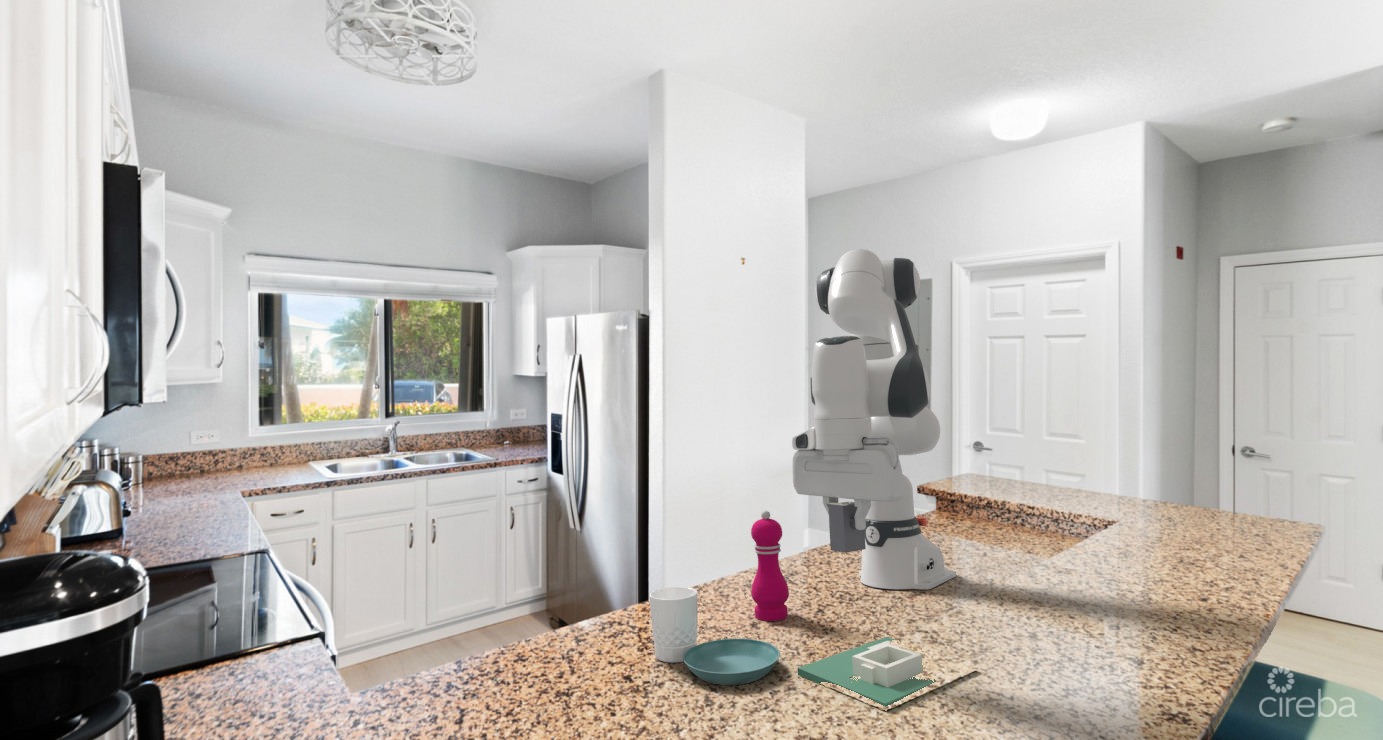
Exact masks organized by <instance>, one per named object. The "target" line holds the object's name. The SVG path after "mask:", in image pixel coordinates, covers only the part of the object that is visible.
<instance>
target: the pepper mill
mask: <svg viewBox="0 0 1383 740" xmlns="http://www.w3.org/2000/svg"><path fill="white" fill-rule="evenodd" d="M760 516H761V518H760V519H757V520H756V521H754V523H753V524H752V526H751V529H750V534H751V538H752V539H753V541H754V542H755V544H754V546H753V547H754V552H755V553H756V556H757V571H756V573H755V576H754V579H753V582H752V585H751V591H750V592H751V593H750V594H751V595H750V596H751V598H752V600H753V601H754V602H755V604H756V605H755V606H754V617H755V618H756V619H757V620H760V621H765V622H777V621H782V620H786V619H787V617H789V616H788V615H789V614H788V613H789V611H788V606H787V605H786V604H785V603H787V601H788V599H789V597H790V590H789V585H788V583H787V580H786V579H785V577H784V575H783V572H782V571H781V567H780V562H779V557H780V556H779V554H780V552H782V551H781V544H780V540H781V539H782V537H783V528H782V526H781V524H780V523H779V522H778V521H777V520H775V519H773V518H771V513H770V511H768V510H763V511H761V513H760Z"/></svg>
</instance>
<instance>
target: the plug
mask: <svg viewBox="0 0 1383 740" xmlns="http://www.w3.org/2000/svg"><path fill="white" fill-rule="evenodd" d="M828 507H829V515H828V517H829V518H828V525H829V542H830V545H829V548H830V551H833V552H839V553H844V554H846V553H851V552H857V551H862V550H864V549H866V547H865V529H863V530H856V529H852V528H851V522H850V518H851V517H854V516H855V514H856V511H857V508H858V507H855V504H854V501H843V502H838V503H829V504H828Z"/></svg>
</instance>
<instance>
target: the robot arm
mask: <svg viewBox="0 0 1383 740" xmlns="http://www.w3.org/2000/svg"><path fill="white" fill-rule="evenodd" d="M920 289H921V277H920V273H919V271H918V269H917V267H916V266H915V262H913V261H912V260H911V259H910V258H904V257H894V258H893V259H880V257H879V256H878V255H877V254H876V253H874V252H873V251H871V250H869V249H864V248H855V249H851V250H849V251H847V252H845V253H844V254H843V255H842V256H840V257H839V259H838V261H837V263H836V265H835V267H834V266H833V267H830V268H828V269H825V270H823V271H822V272H821V273H820V274H819V275H818V276H817V278H816V283H815V289H814V294H815V298H816V302H817V304H818V306H819V309H820V310H821V311H822V312H823V313H825V314H826V315H829V316H830V318H831V319H832V321H833V322H834V323H835V325H836V326H838V327H839V328H840V329H841V330H843V331H844V332H847V333H849V334H850V335H843V336H833V337H824V338H821V339H819V340H817V341H816V342H815V343H814V345H813V351H812V352H813V353H812V360H811V361H812V363H811V364H812V365H811V377H810V398H811V403H812V404H813V405H814V406H815V407H814V413H813V426H812V427H810V428H808V429H806V430H805V431H803V432H800V433H798V434H796V435H794V436H793V437H792V439H791V447H792V449H794V450H795V452H794V454H793V457H792V483H793V487H794V491H795V492H796V493H797V494H798V495H805V496H815V497H822V504H823V507H824V509H825V510H826V513H827V514H828V516H829V507H828V504H829V503H839V499H846V500H847V499H849V500H854V501H853V502H854V504H855V507H858V508H857V511H856V514H855V516H854V517H851V518H850V522H851V528H852V529H856V530H863V529H865V547H866V549H864V550H861V563H860V564H861V566H860V567H861V569H860V570H858V576H859V575H860V576H861V577H860V576H859V577H860V578H859V581H860V583H862V584H863V585H866V586H869V587H872V588H878V589H886V590H931V589H933V588H935V587H937V586H939V585H942V584H943V583H945V582H948V581H949V580H951V579H953V578H955V577H957V573H956V571H955V570H954V569H950V568H947V567H945V562H944V561H945V560H944V555H943V552H942V550H941V548H940V547H939V546H937V544H935V543H933V542H932V541H931V540H930V539H928V538H927V537H926V536H925V535H924V534H923V533H922V529H921V527H927V526H928V524H929V520H928V519H927V517H925V516H923V517H921V516H917V517H916V516H915V504H914V503H915V502H914V489H913V484H912V482H911V480H910V479H909V478H908V477H907V475H905V474H903V470H902V466H901V460H900V457H899V456H913V455H918V454H923V453H924V454H925V453H927V452H931V451H932V450H933V449H935V447H936V446H937V445H938V442H939V440H940V437H941V425H940V422H939V419H938V417H937V416H936V414H935V413H934V412H933V411H932V410H931V409H930V408H929V407H927V406H928V405H929V401H930V398H931V386H930V385H931V383H930V379H929V376H928V374H927V373H928V372H927V370H926V369H925V367H924V365H923V362H922V360H921V357H920V354H919V351H918V349H917V344H916V341H915V338H914V334H913V331H912V327H911V324H910V321H909V318H908V315H907V313H906V310H905V309H907V308H909V307H910V306H911V305H913V303H914V302H915V301H916V300H917V298H918V293H919V292H920Z"/></svg>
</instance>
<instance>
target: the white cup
mask: <svg viewBox="0 0 1383 740" xmlns="http://www.w3.org/2000/svg"><path fill="white" fill-rule="evenodd" d="M649 605H650V618H651V627H652V628H651V629H652V637H653V641H654V655H655V658H656V659H657V660H658V661H660V662H663V663H673V664H674V663H683V662H684V660H683V656H684V654H685V653H686V651H688V650H689V649H691V648H692V647H694V646H696V645H698V643H697V642H698V641H697V638H698V624H699V623H698V590H697V589H695V588H693V587H687V586H671V587H663V588H658V589H655V590H653V591H651V592H650V593H649ZM684 663H685V662H684Z"/></svg>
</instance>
